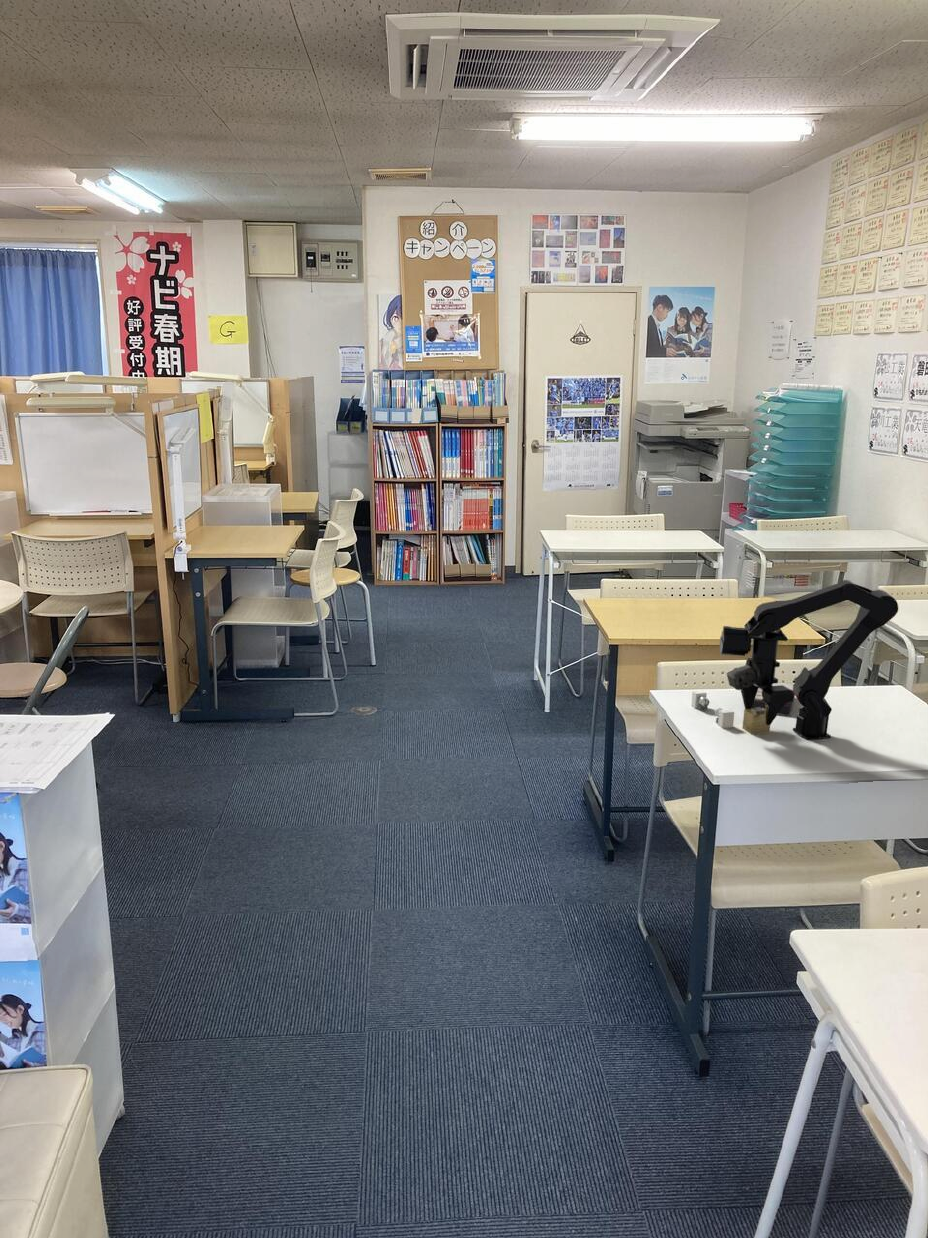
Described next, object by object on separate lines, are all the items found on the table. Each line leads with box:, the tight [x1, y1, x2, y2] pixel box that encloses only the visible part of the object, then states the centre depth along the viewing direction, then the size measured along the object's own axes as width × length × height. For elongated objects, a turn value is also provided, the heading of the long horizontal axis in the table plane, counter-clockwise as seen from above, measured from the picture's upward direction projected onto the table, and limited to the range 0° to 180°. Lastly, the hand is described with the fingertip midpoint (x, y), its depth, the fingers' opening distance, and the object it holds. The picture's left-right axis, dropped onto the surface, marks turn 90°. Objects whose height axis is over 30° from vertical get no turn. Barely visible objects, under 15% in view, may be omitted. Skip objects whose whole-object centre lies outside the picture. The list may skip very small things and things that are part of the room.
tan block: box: [741, 707, 771, 735], centre depth 224 cm, size 4×5×6 cm
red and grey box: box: [752, 682, 796, 716], centre depth 244 cm, size 11×4×15 cm
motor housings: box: [691, 690, 735, 729], centre depth 233 cm, size 3×16×4 cm, turn 14°
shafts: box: [697, 696, 724, 724], centre depth 233 cm, size 2×12×3 cm, turn 14°
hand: (757, 717), depth 224 cm, fingers open, 9 cm apart
